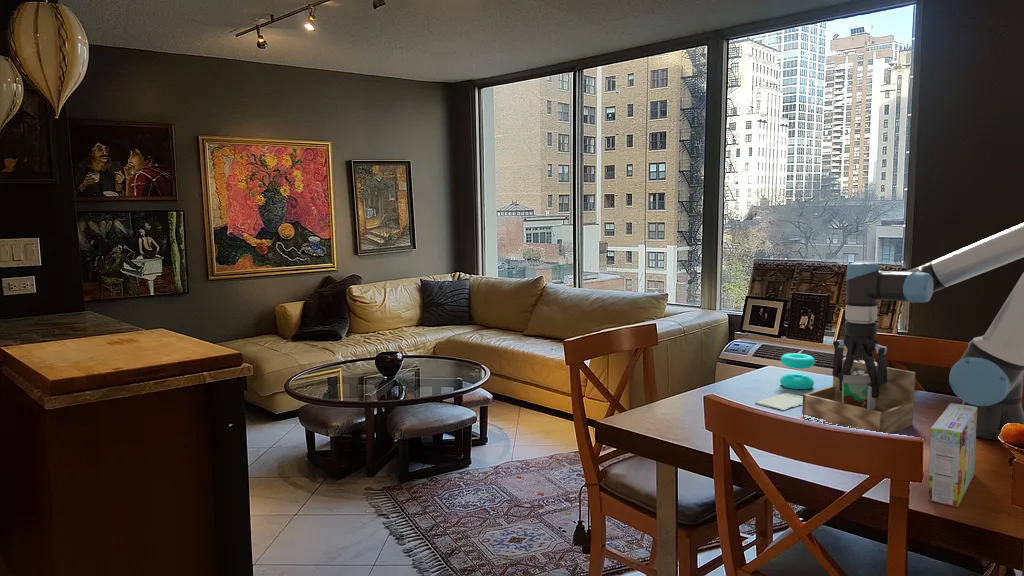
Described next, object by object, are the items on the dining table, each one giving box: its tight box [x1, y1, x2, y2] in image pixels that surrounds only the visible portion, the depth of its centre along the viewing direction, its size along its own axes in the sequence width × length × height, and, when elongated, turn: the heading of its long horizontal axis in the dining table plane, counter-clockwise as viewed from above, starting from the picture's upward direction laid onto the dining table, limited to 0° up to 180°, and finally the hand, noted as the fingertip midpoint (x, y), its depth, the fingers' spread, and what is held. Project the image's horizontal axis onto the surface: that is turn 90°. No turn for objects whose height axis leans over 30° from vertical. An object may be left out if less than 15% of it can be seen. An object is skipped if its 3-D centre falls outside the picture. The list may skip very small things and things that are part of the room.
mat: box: [754, 392, 803, 409], centre depth 199 cm, size 9×16×1 cm, turn 125°
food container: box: [843, 367, 871, 409], centre depth 180 cm, size 12×6×10 cm, turn 141°
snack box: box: [927, 402, 977, 508], centre depth 138 cm, size 21×6×15 cm, turn 139°
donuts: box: [779, 352, 816, 390], centre depth 215 cm, size 10×10×10 cm
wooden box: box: [797, 358, 916, 434], centre depth 179 cm, size 22×22×14 cm
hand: (858, 406), depth 181 cm, fingers closed on food container, 6 cm apart
